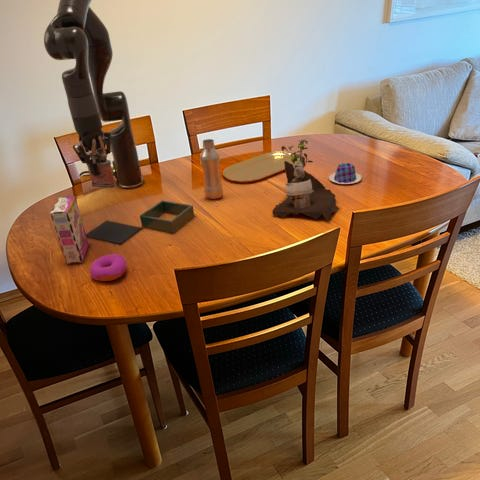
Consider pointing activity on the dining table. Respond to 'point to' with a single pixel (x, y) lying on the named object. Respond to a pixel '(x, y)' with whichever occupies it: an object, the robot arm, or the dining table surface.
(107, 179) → the lighter
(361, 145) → the dining table surface
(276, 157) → the serving platter
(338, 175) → the purple patterned hat
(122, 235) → the mat
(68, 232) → the candy bar box
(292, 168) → the potted plant
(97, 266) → the donut
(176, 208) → the frame
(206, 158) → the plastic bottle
